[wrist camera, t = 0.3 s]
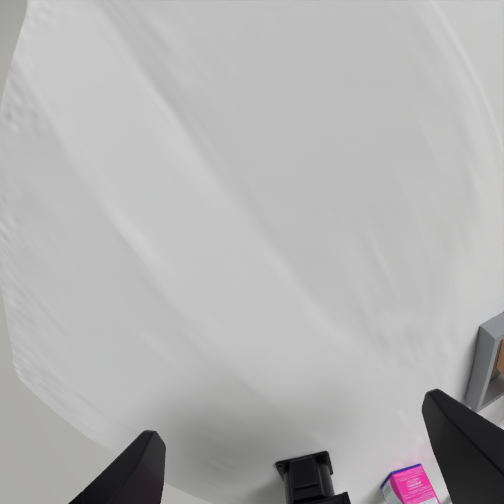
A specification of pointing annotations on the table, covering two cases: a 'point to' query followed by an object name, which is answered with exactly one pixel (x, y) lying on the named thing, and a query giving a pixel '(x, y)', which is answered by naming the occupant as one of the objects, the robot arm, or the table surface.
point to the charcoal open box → (486, 366)
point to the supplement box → (409, 487)
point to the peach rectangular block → (501, 360)
